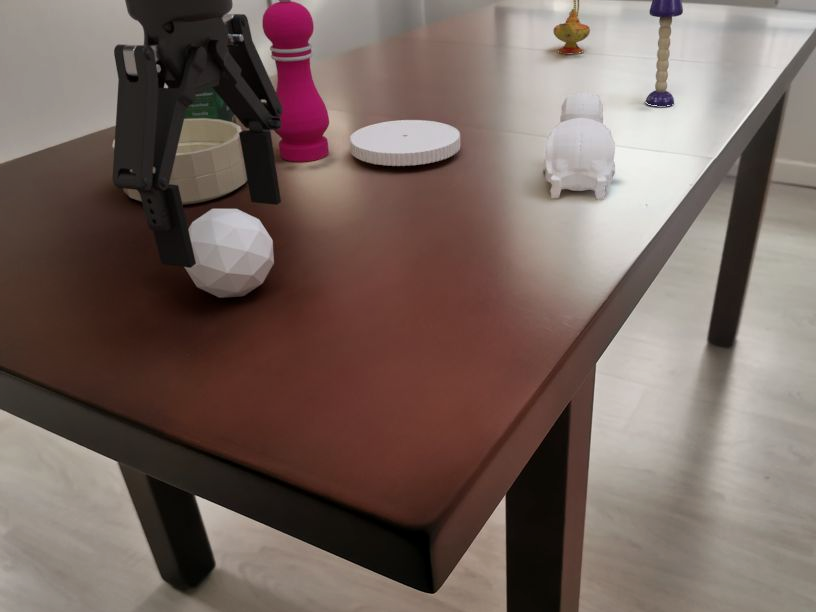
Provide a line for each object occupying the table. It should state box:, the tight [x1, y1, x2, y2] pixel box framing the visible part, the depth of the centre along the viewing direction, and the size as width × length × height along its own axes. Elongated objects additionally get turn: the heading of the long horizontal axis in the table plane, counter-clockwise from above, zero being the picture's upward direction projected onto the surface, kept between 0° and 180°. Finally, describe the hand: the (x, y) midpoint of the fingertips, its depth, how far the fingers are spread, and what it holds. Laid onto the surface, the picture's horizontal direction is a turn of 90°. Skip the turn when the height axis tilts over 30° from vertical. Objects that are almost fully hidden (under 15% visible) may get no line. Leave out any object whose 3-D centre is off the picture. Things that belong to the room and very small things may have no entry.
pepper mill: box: [261, 0, 330, 163], centre depth 99 cm, size 7×7×20 cm
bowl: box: [111, 118, 248, 206], centre depth 94 cm, size 14×14×6 cm
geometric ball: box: [184, 208, 275, 299], centre depth 71 cm, size 8×8×8 cm
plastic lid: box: [349, 119, 461, 167], centre depth 103 cm, size 14×14×2 cm
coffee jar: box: [167, 86, 237, 124], centre depth 108 cm, size 10×8×19 cm
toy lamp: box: [644, 0, 684, 108], centre depth 117 cm, size 5×5×17 cm
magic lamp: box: [552, 0, 591, 55], centre depth 149 cm, size 7×18×11 cm, turn 165°
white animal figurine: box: [542, 91, 616, 201], centre depth 93 cm, size 8×8×15 cm
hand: (226, 231), depth 69 cm, fingers open, 13 cm apart
